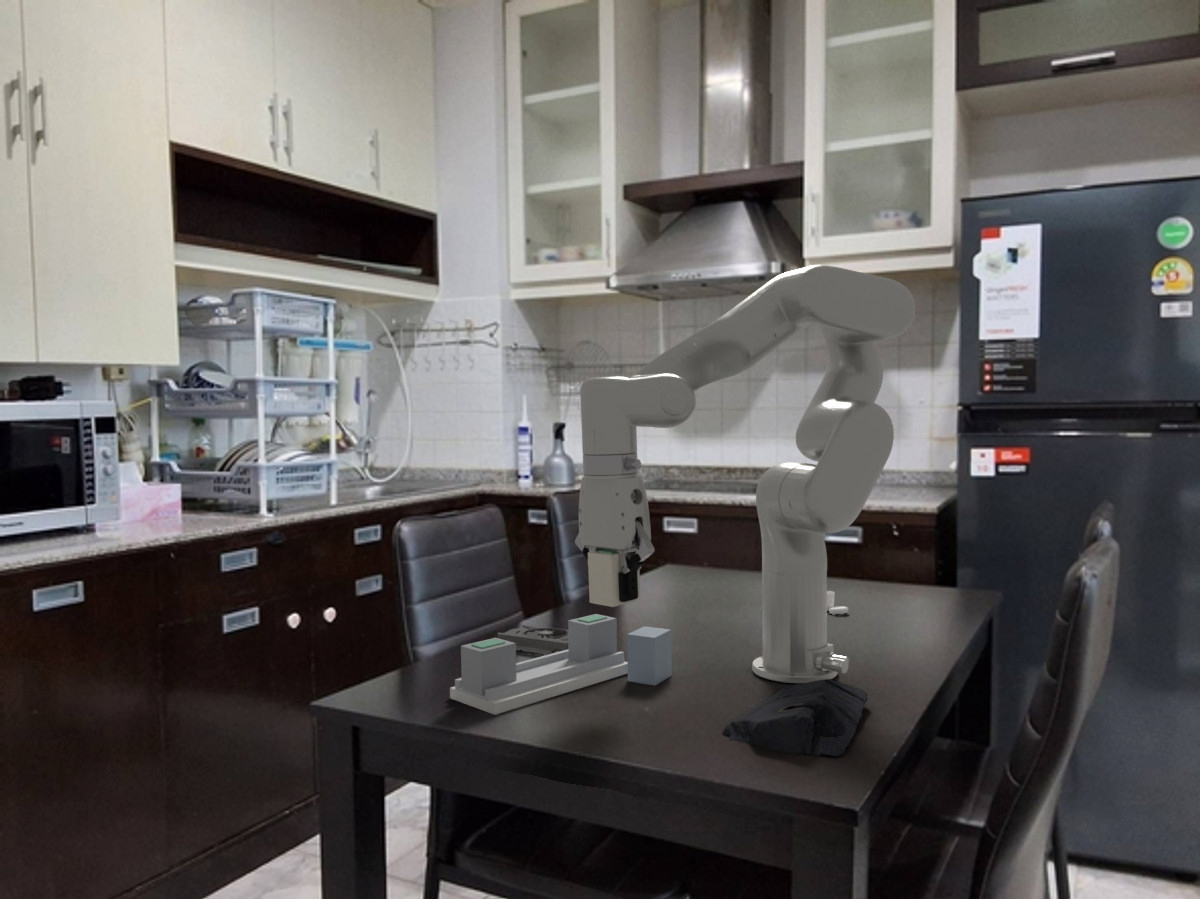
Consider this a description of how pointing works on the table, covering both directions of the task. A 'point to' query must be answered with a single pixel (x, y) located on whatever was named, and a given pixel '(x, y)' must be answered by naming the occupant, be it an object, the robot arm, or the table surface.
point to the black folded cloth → (803, 719)
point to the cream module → (606, 578)
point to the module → (649, 655)
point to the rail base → (543, 681)
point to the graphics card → (537, 639)
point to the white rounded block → (831, 605)
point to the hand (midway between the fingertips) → (615, 596)
